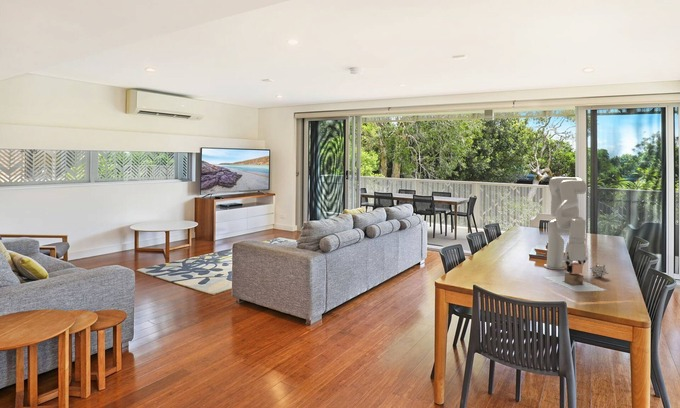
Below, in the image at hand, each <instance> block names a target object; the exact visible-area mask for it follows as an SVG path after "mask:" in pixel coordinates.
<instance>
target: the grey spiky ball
mask: <svg viewBox="0 0 680 408" xmlns="http://www.w3.org/2000/svg"><path fill="white" fill-rule="evenodd" d="M589 269H590V270H591V272H592V277H599V278H600V279H602V277H604V276H605V275H608V274H609V272H607V270H606V264H603V265H601V264H599V263H596V264H595V265H594V266H592V267H590V268H589Z"/></svg>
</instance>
